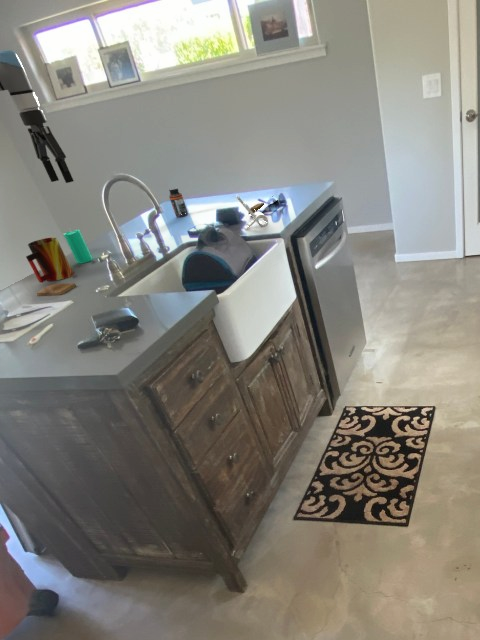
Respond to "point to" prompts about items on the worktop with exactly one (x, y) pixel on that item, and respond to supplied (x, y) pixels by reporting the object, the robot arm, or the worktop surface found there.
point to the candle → (78, 246)
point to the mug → (49, 260)
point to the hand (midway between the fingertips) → (62, 181)
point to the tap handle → (256, 207)
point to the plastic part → (254, 216)
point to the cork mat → (56, 289)
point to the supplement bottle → (178, 202)
